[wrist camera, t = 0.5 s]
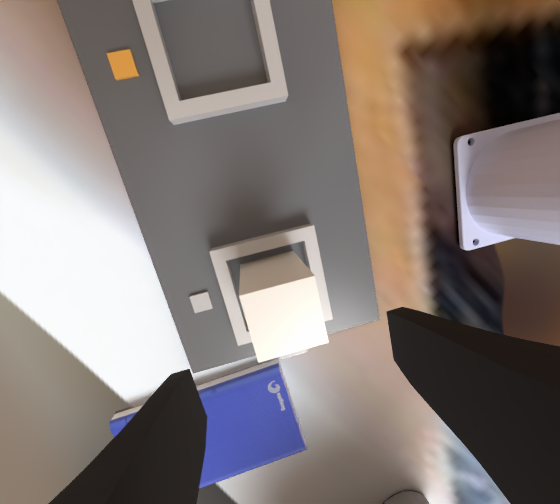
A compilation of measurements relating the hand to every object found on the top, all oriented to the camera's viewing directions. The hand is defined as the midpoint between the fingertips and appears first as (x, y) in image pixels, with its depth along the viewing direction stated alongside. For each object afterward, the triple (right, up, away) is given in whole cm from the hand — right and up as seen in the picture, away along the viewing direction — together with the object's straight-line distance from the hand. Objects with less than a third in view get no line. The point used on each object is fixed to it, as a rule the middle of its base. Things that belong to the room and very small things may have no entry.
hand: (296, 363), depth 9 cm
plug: (-1, +2, +9) cm, 9 cm away
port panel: (-3, +9, +7) cm, 12 cm away
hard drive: (-6, -10, +12) cm, 16 cm away
